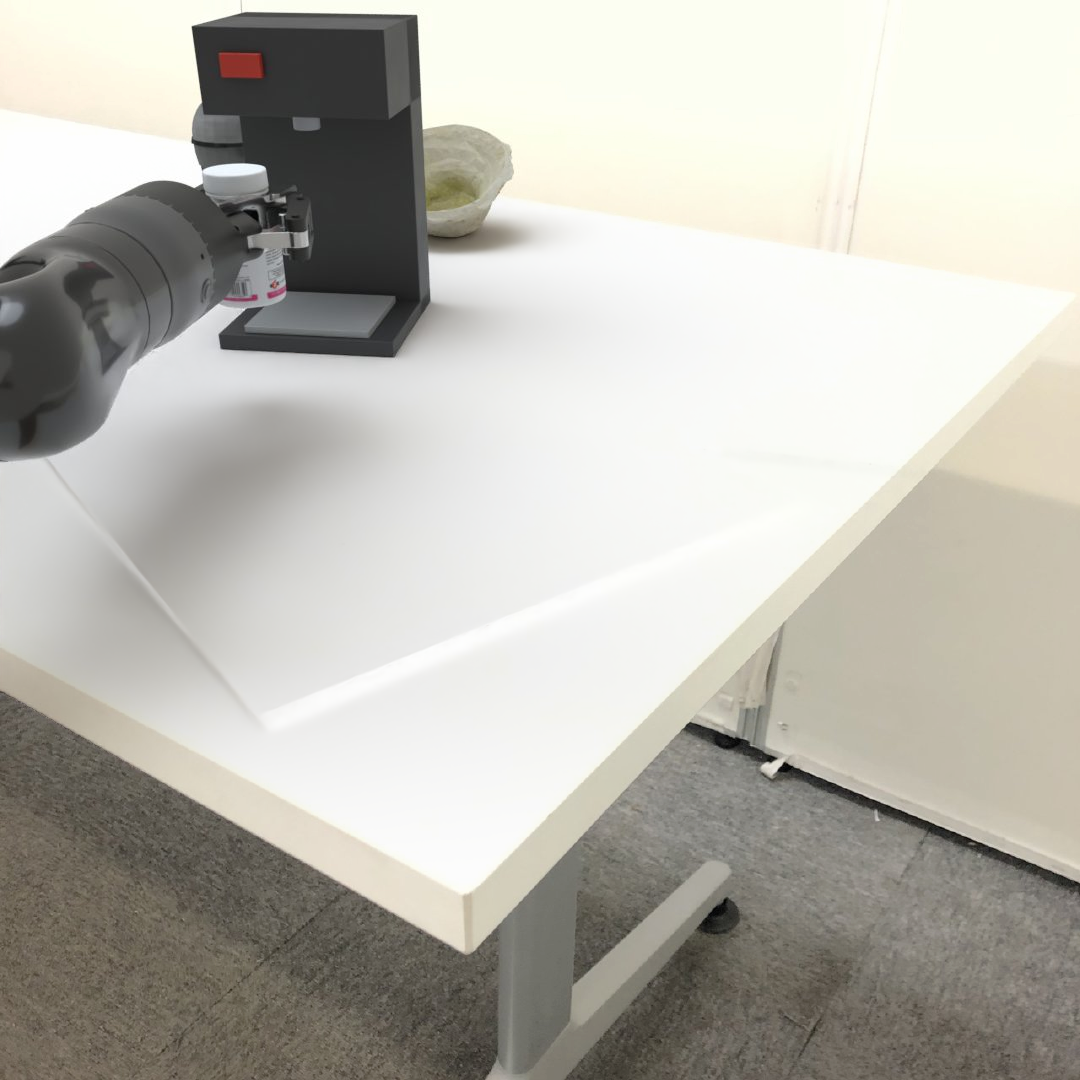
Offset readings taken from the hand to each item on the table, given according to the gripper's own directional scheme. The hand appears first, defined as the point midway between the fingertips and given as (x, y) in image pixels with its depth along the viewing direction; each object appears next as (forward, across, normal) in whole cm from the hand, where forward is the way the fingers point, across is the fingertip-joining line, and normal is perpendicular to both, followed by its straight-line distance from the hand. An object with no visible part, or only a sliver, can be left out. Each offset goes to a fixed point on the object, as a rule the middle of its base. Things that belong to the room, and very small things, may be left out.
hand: (253, 199), depth 75 cm
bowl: (+44, -4, +13) cm, 46 cm away
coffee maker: (+15, 0, +13) cm, 20 cm away
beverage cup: (+31, +13, +13) cm, 36 cm away
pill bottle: (-3, 0, +6) cm, 7 cm away
